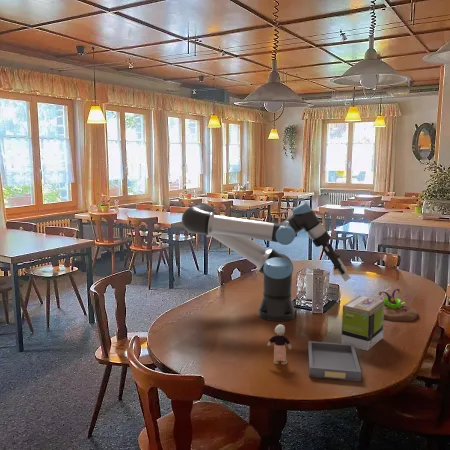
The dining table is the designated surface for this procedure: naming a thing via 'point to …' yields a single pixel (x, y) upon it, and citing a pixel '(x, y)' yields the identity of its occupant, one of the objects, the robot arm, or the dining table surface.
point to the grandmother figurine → (280, 345)
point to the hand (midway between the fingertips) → (346, 275)
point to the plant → (397, 309)
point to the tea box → (362, 322)
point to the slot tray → (333, 361)
